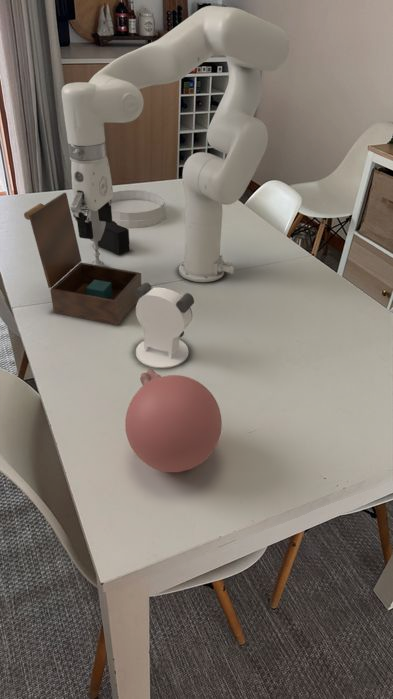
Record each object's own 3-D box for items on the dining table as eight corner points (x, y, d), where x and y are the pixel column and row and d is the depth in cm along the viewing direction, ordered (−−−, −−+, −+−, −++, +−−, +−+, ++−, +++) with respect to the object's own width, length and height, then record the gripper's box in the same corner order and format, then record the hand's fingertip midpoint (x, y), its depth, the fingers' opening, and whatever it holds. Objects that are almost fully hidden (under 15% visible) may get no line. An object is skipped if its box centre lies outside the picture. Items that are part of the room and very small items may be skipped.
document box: (141, 294, 130) (141, 272, 126) (117, 325, 118) (115, 302, 114) (83, 284, 133) (80, 262, 129) (53, 312, 121) (50, 289, 118)
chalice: (105, 277, 136) (100, 213, 126) (81, 274, 137) (74, 210, 127) (114, 265, 142) (110, 203, 132) (91, 263, 143) (85, 200, 133)
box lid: (66, 192, 119) (46, 192, 121) (31, 214, 108) (9, 214, 109) (81, 260, 129) (63, 259, 131) (51, 288, 117) (31, 286, 119)
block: (95, 295, 127) (94, 279, 124) (112, 298, 126) (111, 282, 123) (87, 304, 124) (85, 287, 121) (104, 307, 123) (103, 291, 120)
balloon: (192, 400, 97) (195, 334, 88) (232, 479, 82) (240, 409, 73) (113, 417, 93) (107, 349, 84) (140, 503, 78) (136, 432, 69)
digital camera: (133, 250, 151) (132, 227, 147) (119, 255, 147) (118, 233, 143) (109, 240, 156) (107, 218, 152) (95, 245, 153) (94, 223, 149)
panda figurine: (199, 346, 112) (202, 286, 103) (177, 374, 104) (178, 312, 95) (151, 332, 116) (150, 273, 107) (126, 359, 107) (122, 297, 99)
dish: (163, 229, 164) (162, 214, 161) (94, 226, 164) (93, 211, 161) (167, 204, 182) (166, 191, 179) (105, 202, 182) (104, 188, 179)
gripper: (84, 164, 97) (94, 247, 107) (121, 141, 110) (127, 217, 120) (49, 160, 98) (62, 242, 108) (90, 138, 112) (98, 213, 122)
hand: (96, 229), depth 114 cm, fingers open, 9 cm apart
